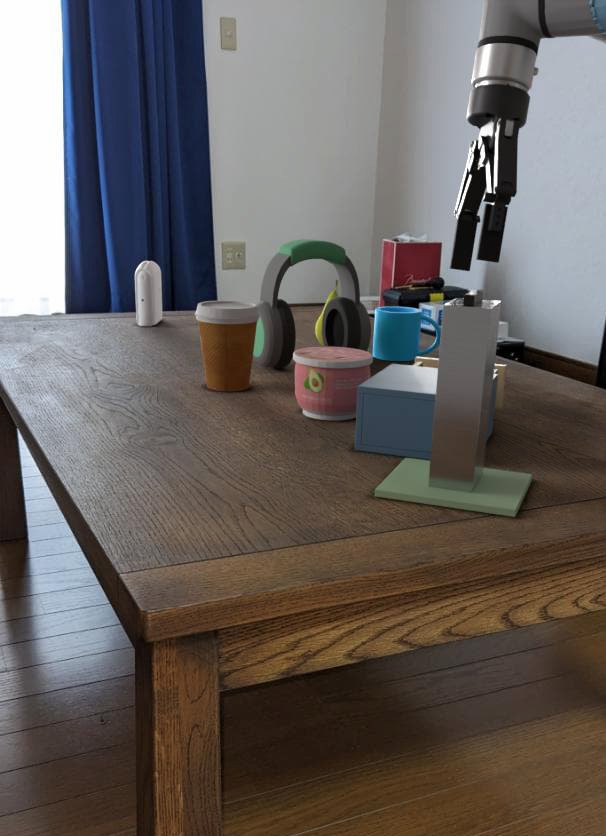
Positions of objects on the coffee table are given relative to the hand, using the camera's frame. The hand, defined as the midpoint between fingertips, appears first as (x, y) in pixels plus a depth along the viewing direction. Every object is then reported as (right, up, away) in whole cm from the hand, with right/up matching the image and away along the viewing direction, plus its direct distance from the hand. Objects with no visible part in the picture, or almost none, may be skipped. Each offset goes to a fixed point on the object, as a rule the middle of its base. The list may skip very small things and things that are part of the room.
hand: (472, 265), depth 117 cm
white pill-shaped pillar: (-54, +10, +71) cm, 89 cm away
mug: (-4, -3, +43) cm, 43 cm away
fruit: (-17, 0, +49) cm, 52 cm away
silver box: (-6, -30, -24) cm, 39 cm away
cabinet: (-7, -24, -8) cm, 26 cm away
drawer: (-2, -18, +4) cm, 19 cm away
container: (-18, -19, +4) cm, 27 cm away
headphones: (-21, -7, +34) cm, 40 cm away
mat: (-6, -30, -24) cm, 39 cm away
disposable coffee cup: (-33, -13, +17) cm, 40 cm away
